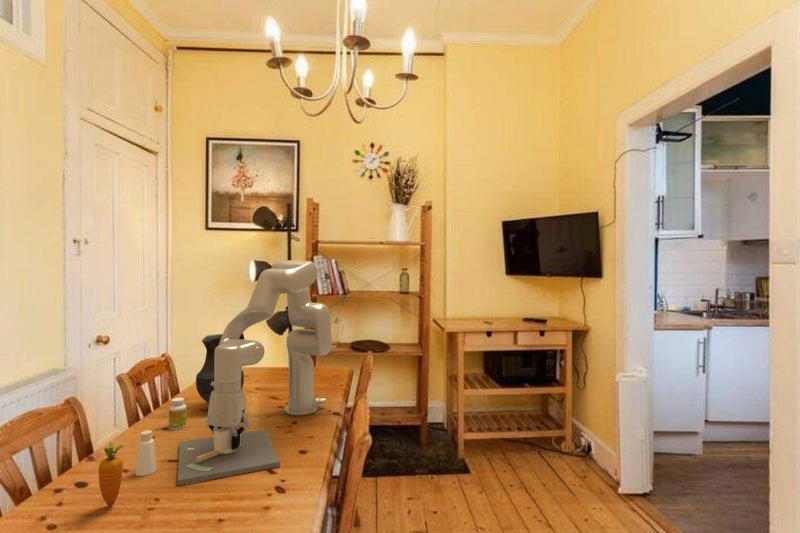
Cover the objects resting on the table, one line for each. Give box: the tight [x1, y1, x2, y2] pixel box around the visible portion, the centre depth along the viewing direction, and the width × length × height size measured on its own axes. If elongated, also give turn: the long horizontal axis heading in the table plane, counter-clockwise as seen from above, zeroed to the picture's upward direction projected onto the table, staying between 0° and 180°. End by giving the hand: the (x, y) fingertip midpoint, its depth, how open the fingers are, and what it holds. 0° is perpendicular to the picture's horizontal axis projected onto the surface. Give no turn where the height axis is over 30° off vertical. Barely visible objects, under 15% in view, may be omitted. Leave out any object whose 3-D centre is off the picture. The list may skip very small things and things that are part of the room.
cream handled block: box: [196, 427, 241, 462], centre depth 128 cm, size 13×5×7 cm, turn 146°
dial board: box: [176, 429, 281, 486], centre depth 131 cm, size 26×26×2 cm
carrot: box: [98, 442, 124, 507], centre depth 104 cm, size 5×5×15 cm
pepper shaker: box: [134, 429, 158, 477], centre depth 121 cm, size 5×5×11 cm
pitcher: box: [195, 332, 245, 411], centre depth 174 cm, size 17×21×30 cm
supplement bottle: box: [168, 397, 187, 431], centre depth 153 cm, size 5×5×10 cm
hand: (227, 446), depth 131 cm, fingers closed on cream handled block, 4 cm apart
